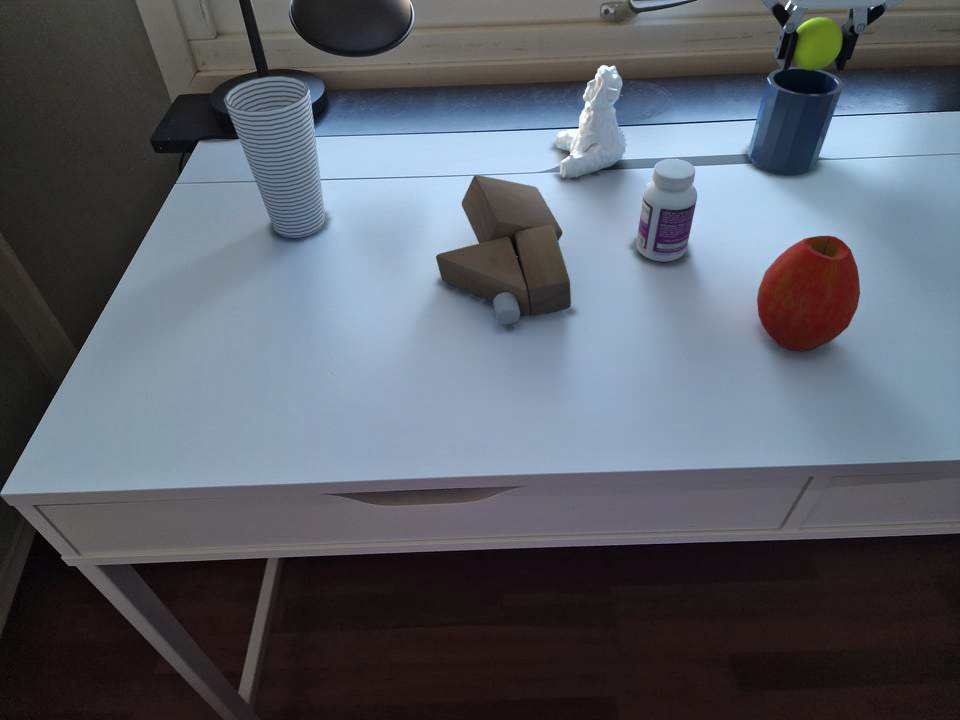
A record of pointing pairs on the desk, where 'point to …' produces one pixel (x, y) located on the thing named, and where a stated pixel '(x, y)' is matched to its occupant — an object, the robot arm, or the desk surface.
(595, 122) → the white creature statuette
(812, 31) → the ball
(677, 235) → the pill bottle
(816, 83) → the tube
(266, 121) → the cup
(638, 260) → the desk surface
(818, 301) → the apple
